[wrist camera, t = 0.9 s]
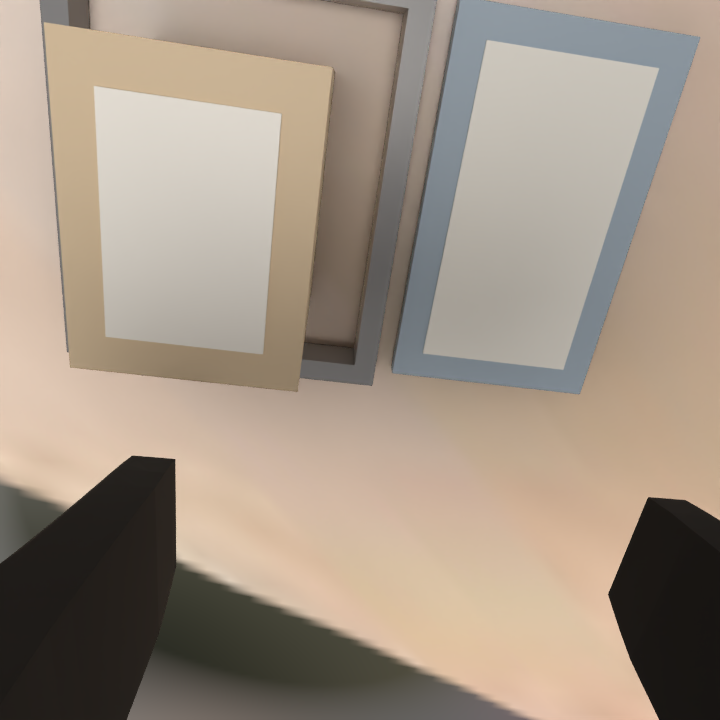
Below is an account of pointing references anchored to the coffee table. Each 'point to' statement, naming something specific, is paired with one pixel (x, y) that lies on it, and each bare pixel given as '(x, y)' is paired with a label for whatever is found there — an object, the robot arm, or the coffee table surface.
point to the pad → (533, 192)
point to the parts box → (186, 205)
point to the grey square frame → (357, 365)
